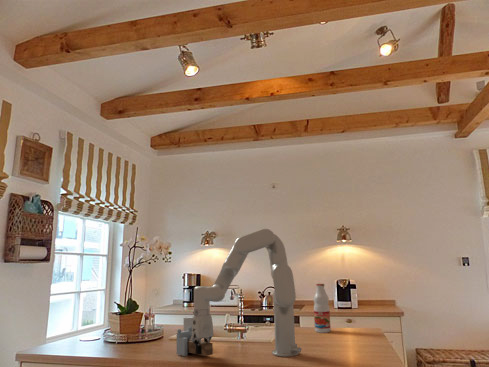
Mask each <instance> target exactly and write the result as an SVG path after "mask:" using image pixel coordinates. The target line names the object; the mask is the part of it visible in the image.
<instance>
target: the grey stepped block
mask: <svg viewBox="0 0 489 367" xmlns="http://www.w3.org/2000/svg"><path fill="white" fill-rule="evenodd" d="M188 330H189V331H184V330H183V331H182V329H181V328H178V329H177V331H176V355H177V354H178V356H181V355H182V356H181V357H187V356H188V354H189V353H188V352H187V340H188V339H190V338H191V336H192V327H189V328H188Z"/></svg>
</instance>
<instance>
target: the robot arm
mask: <svg viewBox="0 0 489 367" xmlns="http://www.w3.org/2000/svg"><path fill="white" fill-rule="evenodd" d="M264 248H265V249H266V250H267V252H268V259H269V264H270V265H269V266H270V276H271V278H272V281H273V287H274V290H273V293H272V302H273V315H274V316H273V318H274V319H273V320H274V325H273V326H274V348H275V349H273V350H272V351H271V354H272V355H273V356H275V357H276V356H277V357H281V358H283V357H296V356H298V355H299V354H300V353H301V352H302V351H303V350H302V347H299V346H298V343H296V337H295V335H296V334H295V333H296V332H295V312H294V311H295V310H294V304H295V302H296V298H297V296H296V288H295V279H294V274H293V270H292V268H291V266H289V264H288V259H287V258H288V257H287V253H286V247H285V245H284V243H283V241H282V240H281V238H280V237H279V236H278V235H277V234H275V233H274V232H273V231H272V230H271V229H269V228H262V229H259V230H256V231H254V232H252V233H248V234H245V235H242V236H239V237H238V238H236V240H235V242H234V243H233V246H232V247H231V249H230V250H229V252H228V254H227V257H226V258H225V260H224V262H223V263H222V266H221V269H220V271H219V274H218V276H217V277H216V279H215V281H214V283H213V285H212V286H207V285H203V286H202V285H200V286H199V285H197V286H195V287H193V311H192V316H193V322H192V336H191V338H190V340H191V341H192V342H194V344H195V345H196V354H195V355H198V354H201V345H200V343H201V341H202V339H203V342H209V343H211V340H212V338H213V337H214V326H213V324H214V323H213V318H212V315H211V308H210V307H211V304H210V303H211V302H213V303H218V302H219V303H220V302H222V301H223V300H224V299H225V296H226V294H227V291H228V289H229V288H230V287H231V286H230V285H231V284H232V282H233V280H234V279H235V277H236V276H237V275H238V273H239V272H240V270H241V268H242V266H243V265H244V263H245V261H246V260H247V257H248V256H249V254H250V253H253V252H256V251H258V250H261V249H264Z"/></svg>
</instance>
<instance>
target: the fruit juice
mask: <svg viewBox="0 0 489 367" xmlns="http://www.w3.org/2000/svg"><path fill="white" fill-rule="evenodd" d="M315 285H316V290H315V293H314V296H313V316H314V319H313V320H314V331H315V332H316V333H319V334H321V333H322V334H323V333H325V334H327V333H330V332H331V315H330V314H331V313H330V305H329V300H330V299H329V296H328V293H327V292H326V288H325V284H324V283H315Z"/></svg>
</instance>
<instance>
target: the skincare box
mask: <svg viewBox="0 0 489 367" xmlns="http://www.w3.org/2000/svg"><path fill="white" fill-rule="evenodd" d="M193 316H194V315H192V316H187V317H186V316H185V317H183V332H184V331H189V330H188V328H189V327H192V322H193Z"/></svg>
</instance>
